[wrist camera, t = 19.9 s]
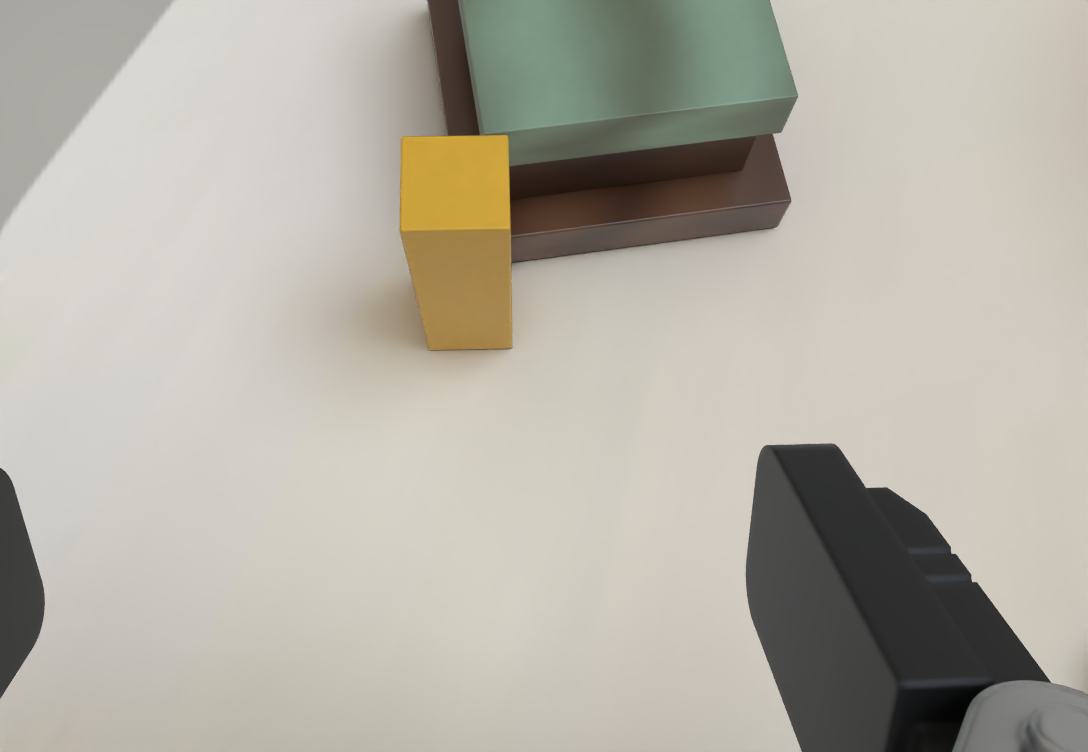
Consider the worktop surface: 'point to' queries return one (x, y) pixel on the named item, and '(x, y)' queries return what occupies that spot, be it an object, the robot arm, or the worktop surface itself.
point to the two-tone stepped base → (621, 115)
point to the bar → (459, 238)
